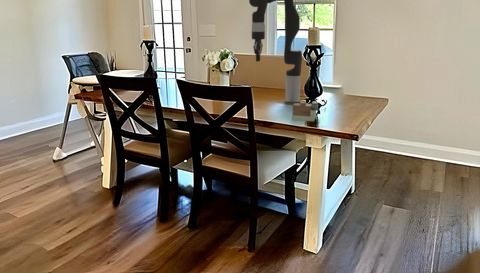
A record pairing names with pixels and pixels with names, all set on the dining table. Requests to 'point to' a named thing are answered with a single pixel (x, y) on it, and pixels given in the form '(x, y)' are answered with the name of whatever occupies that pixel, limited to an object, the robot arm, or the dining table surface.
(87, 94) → the dining table surface
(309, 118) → the mount
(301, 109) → the slider block
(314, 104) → the knob
